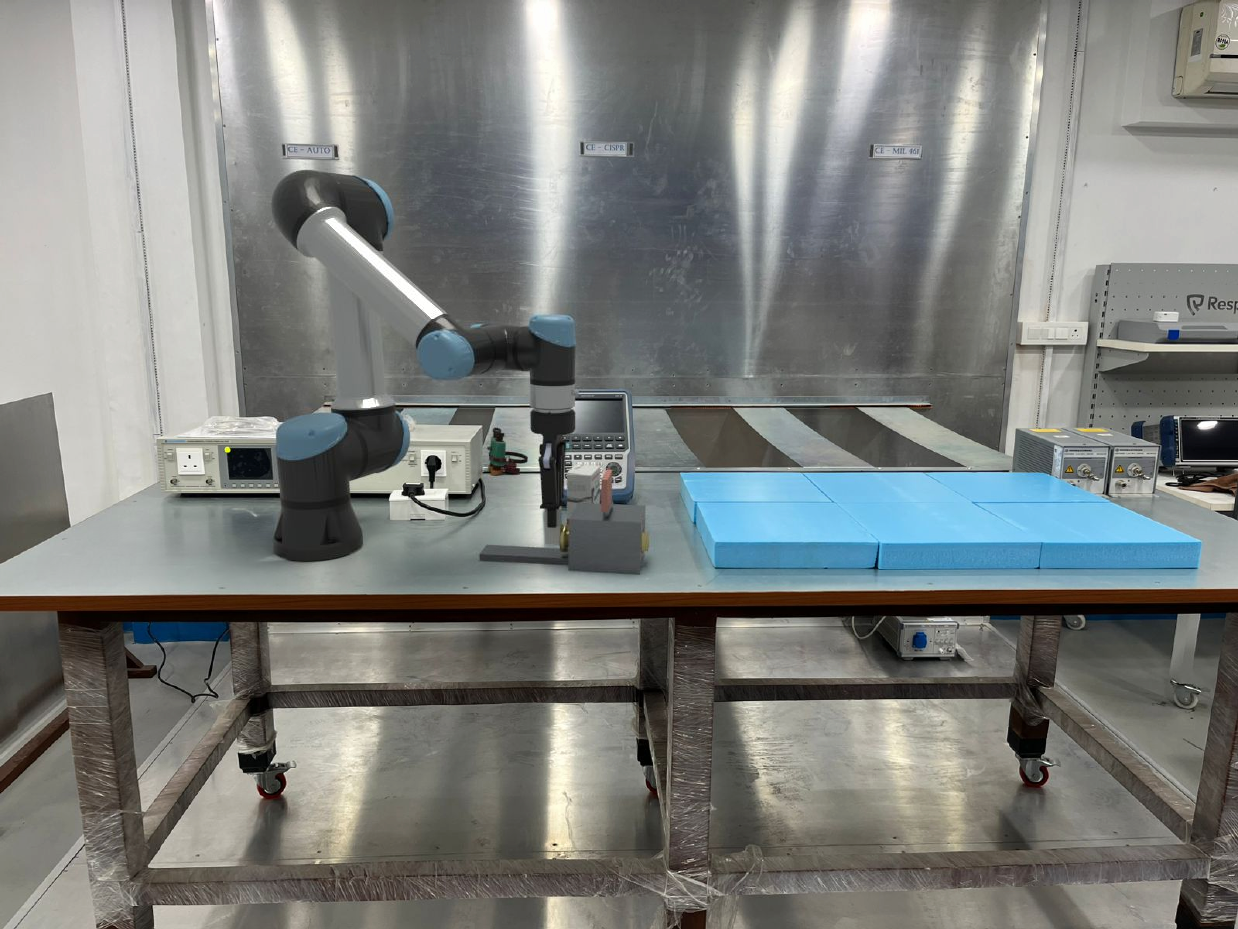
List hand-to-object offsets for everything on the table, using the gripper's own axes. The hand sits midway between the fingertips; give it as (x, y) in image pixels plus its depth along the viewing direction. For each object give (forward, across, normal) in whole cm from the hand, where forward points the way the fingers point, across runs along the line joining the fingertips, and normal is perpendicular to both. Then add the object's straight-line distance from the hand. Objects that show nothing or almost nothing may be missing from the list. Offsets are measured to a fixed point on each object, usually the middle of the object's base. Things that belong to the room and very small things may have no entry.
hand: (553, 543), depth 146 cm
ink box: (+3, +19, -2) cm, 19 cm away
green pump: (+3, +61, +23) cm, 65 cm away
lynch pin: (+1, 0, -9) cm, 9 cm away
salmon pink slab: (-7, 0, -10) cm, 12 cm away
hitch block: (+3, 0, -2) cm, 3 cm away
